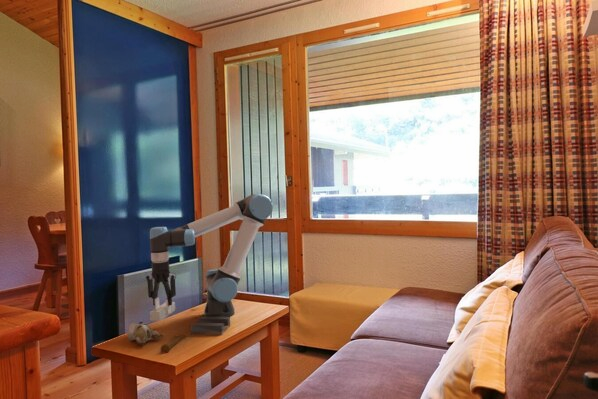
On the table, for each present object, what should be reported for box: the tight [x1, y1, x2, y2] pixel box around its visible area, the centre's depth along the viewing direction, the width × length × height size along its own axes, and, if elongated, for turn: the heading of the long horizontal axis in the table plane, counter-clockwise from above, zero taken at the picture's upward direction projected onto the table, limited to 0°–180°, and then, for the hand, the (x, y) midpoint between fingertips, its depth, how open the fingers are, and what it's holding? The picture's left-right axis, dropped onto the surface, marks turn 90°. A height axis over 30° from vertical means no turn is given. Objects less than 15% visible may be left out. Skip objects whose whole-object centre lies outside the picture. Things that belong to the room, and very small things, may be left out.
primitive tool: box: [160, 334, 188, 354], centre depth 169 cm, size 19×6×4 cm, turn 179°
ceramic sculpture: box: [126, 321, 164, 346], centre depth 173 cm, size 11×9×15 cm
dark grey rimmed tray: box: [190, 316, 231, 336], centre depth 184 cm, size 12×14×4 cm
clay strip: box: [149, 301, 176, 322], centre depth 185 cm, size 16×4×4 cm, turn 173°
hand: (163, 312), depth 185 cm, fingers closed on clay strip, 4 cm apart
